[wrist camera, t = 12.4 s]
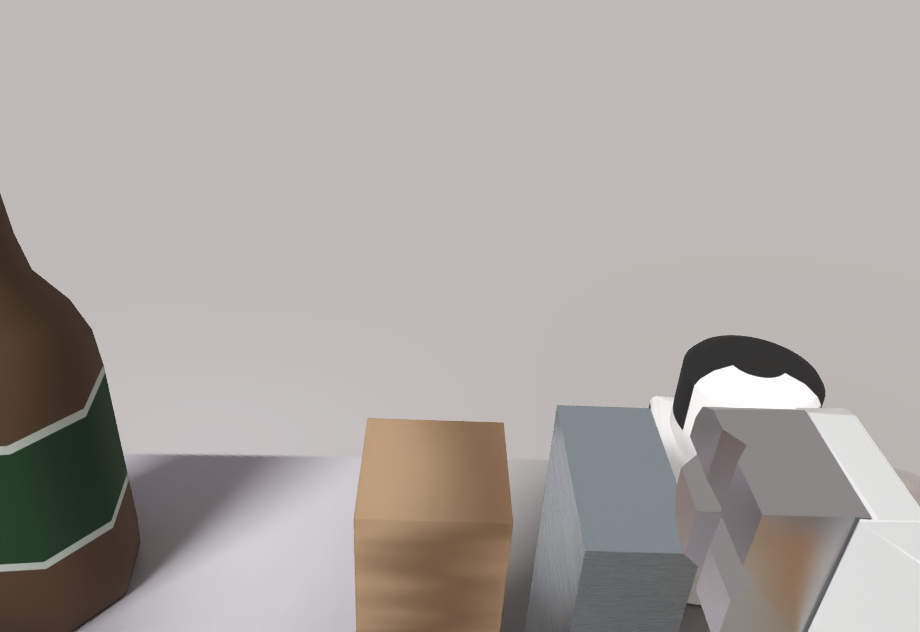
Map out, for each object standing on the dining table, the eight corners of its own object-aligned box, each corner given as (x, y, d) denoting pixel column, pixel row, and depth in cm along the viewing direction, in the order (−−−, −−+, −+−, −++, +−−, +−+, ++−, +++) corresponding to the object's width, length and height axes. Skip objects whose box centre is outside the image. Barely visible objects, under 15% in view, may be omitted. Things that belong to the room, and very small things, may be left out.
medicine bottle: (628, 494, 44) (669, 310, 38) (759, 514, 43) (823, 329, 37) (631, 597, 38) (680, 398, 32) (784, 622, 37) (864, 423, 31)
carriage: (359, 759, 28) (353, 518, 22) (370, 649, 32) (367, 418, 26) (573, 763, 29) (626, 526, 23) (558, 653, 33) (600, 426, 26)
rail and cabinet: (139, 784, 30) (69, 536, 23) (191, 624, 36) (147, 391, 29) (630, 791, 30) (701, 554, 24) (600, 633, 36) (650, 408, 30)
